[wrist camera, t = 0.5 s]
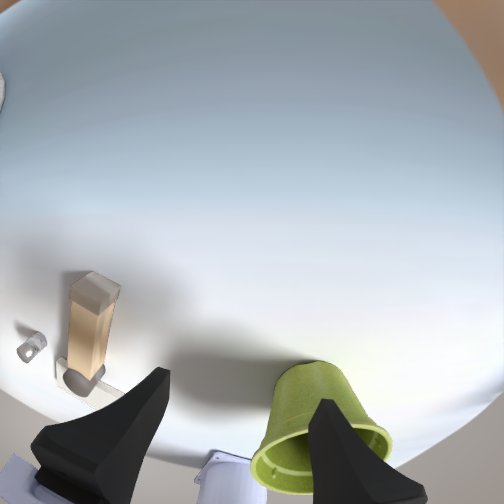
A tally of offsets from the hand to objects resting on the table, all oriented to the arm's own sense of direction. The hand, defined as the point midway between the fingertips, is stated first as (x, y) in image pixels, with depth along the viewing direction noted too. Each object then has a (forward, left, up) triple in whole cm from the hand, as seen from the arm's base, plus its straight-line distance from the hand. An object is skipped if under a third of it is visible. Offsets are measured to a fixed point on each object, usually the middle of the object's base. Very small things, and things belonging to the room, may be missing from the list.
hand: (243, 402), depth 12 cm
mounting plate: (-16, +12, -9) cm, 22 cm away
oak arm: (-8, +12, -9) cm, 17 cm away
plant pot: (-5, -7, -9) cm, 13 cm away
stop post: (-14, +19, -9) cm, 25 cm away
